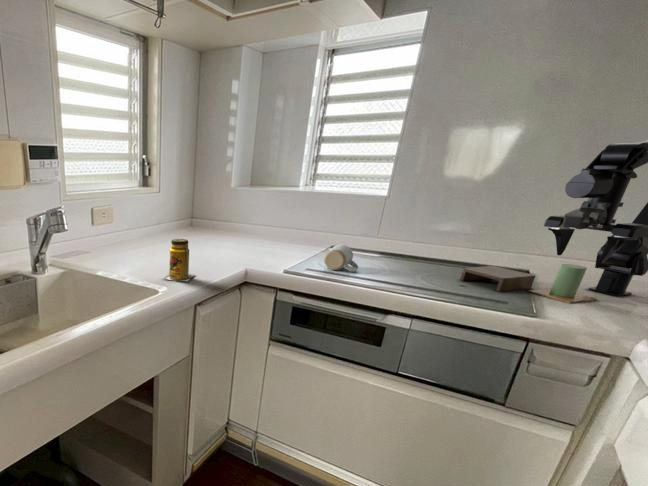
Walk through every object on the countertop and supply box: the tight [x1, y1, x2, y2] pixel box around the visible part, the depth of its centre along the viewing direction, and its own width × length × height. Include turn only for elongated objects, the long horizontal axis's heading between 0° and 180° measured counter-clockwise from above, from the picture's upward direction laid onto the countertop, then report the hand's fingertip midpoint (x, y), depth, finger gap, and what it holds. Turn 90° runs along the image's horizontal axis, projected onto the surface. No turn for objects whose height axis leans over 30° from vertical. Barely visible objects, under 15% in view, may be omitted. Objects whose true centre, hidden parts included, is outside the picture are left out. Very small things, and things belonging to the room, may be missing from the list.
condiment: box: [165, 238, 195, 282], centre depth 125 cm, size 7×8×12 cm
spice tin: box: [550, 263, 588, 297], centre depth 109 cm, size 5×5×8 cm
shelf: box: [459, 265, 536, 293], centre depth 120 cm, size 12×12×4 cm
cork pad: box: [527, 287, 598, 304], centre depth 111 cm, size 10×10×1 cm
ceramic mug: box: [323, 244, 360, 273], centre depth 136 cm, size 11×8×8 cm
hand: (579, 258), depth 107 cm, fingers open, 9 cm apart
